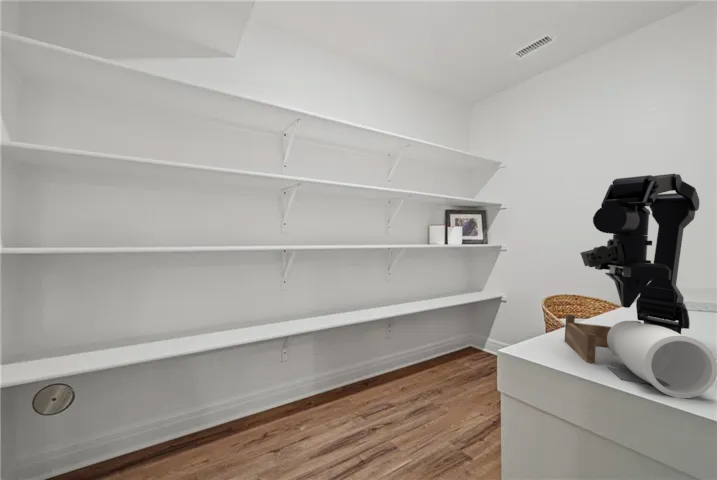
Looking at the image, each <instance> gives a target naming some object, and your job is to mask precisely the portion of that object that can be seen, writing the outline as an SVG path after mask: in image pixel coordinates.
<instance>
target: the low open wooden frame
mask: <svg viewBox="0 0 717 480" xmlns="http://www.w3.org/2000/svg"><path fill="white" fill-rule="evenodd" d="M575 318H576V316H575V315H574V314H571V313H566V315H565V329H564V342H566V343H567V345H568V346H570V348H571V349H572V350H574V352H575V353H577V354H578V355H579V357H581V358H582V359H583V360H584V361H585V362H586V363H589V364H596V351H597V349H596V347H601V348H602V347H603V348H609V347H608V344H607V335H608V332H609V330H610V329H611V328H612V327H613V326H608V325H601V324H600V325H599V324H592V323H591V324H589V323H581V322H575ZM633 321H634V322H638V323H642V321H640V320H633Z"/></svg>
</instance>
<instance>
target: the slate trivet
mask: <svg viewBox="0 0 717 480" xmlns="http://www.w3.org/2000/svg"><path fill="white" fill-rule="evenodd" d="M607 369H608V370H609V371H611V372H612V373H613V374H614V375H615V376H616V377H618V378H619V379H620V380H621V381H627V382H632V383H633V382H634V383H639V384H647V385H652V384H651V383H649V382H647V381H645V380H643V379H641V378H640V377H638V376H637V375H636V374H634V373H633V372H632V371H631V370H630V369H629V368H627V369H626V368H620V367H619V368H618V367H613V366H607ZM655 378H656V377H655ZM656 380H657V381H658V382H659V383H660V384H661V385H662V386H670V385H669V384H668V383H666V382H664V381H663V380H660V379H658V378H656Z"/></svg>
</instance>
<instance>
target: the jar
mask: <svg viewBox="0 0 717 480" xmlns="http://www.w3.org/2000/svg"><path fill="white" fill-rule="evenodd" d="M634 321H635V320H622V321H620V322H616V323H615V324H613V325H612V326H611V327H612V328H611V329H610V330H609V332H608V335H607V344H608V347H607V348H608V350H609V351H610V352H611V353H612V354H613V355H614V356H615V357H617V358H618V359H619V360H620V361H621V362H622V363H623V364H624V365H625V367H627V369H628V370H631V371H632V372H633V373H634V374H636V375H637V376H638V377H640V378H641V379H643V380H645V381H647V382H649V383H651V384H650V385H652V386H653V387H654V388H656V389H657V390H658V391H659V392H661V393H662V394H665V395H667V396H670V397H673V398H679V399H690V398H696V397H698V396H701V395H703V394H704V393H706V392H707V391H708V390H709V389H710V388H711V387H712V386H713V385H714V383H715V381H716V379H717V360H716V358H715V355H714V354H713V352H712V350H710V348H709V347H708V346H707V345H706V344H704V343H703V342H701V341H699V340H698V339H696V338H694V337H691V336H688V335H684V334H682V333H681V334H679V333H677V332H675V331H673V330H671V329H668V328H665V327H661V326H657V325H650V324H644V322H641V323H638V322H634ZM655 377H656V378H658V379H660V380H663V381H664V382H666V383H668V384H669V385H670V386H662V385H661V384H660V383H659V382H658V381H657V380H656V378H655Z"/></svg>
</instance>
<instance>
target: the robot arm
mask: <svg viewBox="0 0 717 480" xmlns="http://www.w3.org/2000/svg"><path fill="white" fill-rule="evenodd" d="M671 191H675V192H673V193H666V192H671ZM600 206H601V207H600V208H599V209H596V212H595V213H594V215H593V217H592V223H593V225H594V227H595V229H596V230H598V231H599V232H601V233H604V234H613V235H612V239H608V240H607V243H606V245H600V246H597V247H593V249H589V250H585V251H581V252H579V253H580V254H579V255H581V259H582V262H583V264H584V267H588V268H594V269H595V270H598V271H600V270H601V271H602V270H607V271H609V272H605V275H606V276H608V277H609V279H612V281H614V284H615V287H616V290H617V294H618V298H619V301H620V305H621V307H623V308H624V309H630V308H631V306H632V305H633V303H634V302H636V303H635V305H636V316H637V321H639V322H643V323H644V324H650V325H657V326H661V327H665V328H668V329H671V330H673V331H675V332H677V333H679V334H681V335H682V329H685V330H689V329H690V323H691V322H690V316H689V311H688V309H687V307H686V306H687V305H686V304H685V303H684V296H683V294H682V293H681V291H680V290H679V288H678V287H677V280H678V273H679V265H680V258H681V250H682V243H683V236H684V229H685V228H686V227H687V226H688V225H689V224H690V223H691V222H693V221H694V219H695V217H696V212H697V211H699V208H700V197H699V195H698V192H697V189H696V188H695V187H694V186H693V185H691V184H689V183H687V182H685V181H684V180H683V179H682V177H681V175H680V174H679V173H678V174H677V173H669V174H668V173H667V174H659V175H651V174H649V175H648V174H647V175H639V176H631V177H621V178H615V179H613V181H612V183H611V184H610V185H609V186H608V189H607V191H606V193H605V196H604V198H603V201H602V202H601V205H600ZM647 207H649V209H648V208H647ZM650 210H651V212H650ZM650 215H651V216H652V218H653V219H654V221H655V222H656V223H657V225H658V227H657V228H658V229H657V235H656V244H655V250H654V257H653V258H654V259H653V262H652V261H651V260H649V259H647V255H648V253H647V252H648V246H653V240H649V239H648V238H649V237H648V236H649V222H650Z"/></svg>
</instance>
